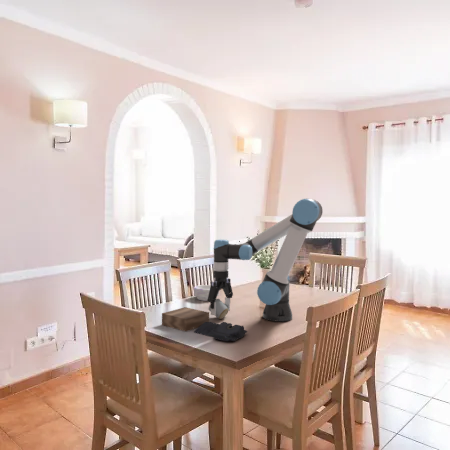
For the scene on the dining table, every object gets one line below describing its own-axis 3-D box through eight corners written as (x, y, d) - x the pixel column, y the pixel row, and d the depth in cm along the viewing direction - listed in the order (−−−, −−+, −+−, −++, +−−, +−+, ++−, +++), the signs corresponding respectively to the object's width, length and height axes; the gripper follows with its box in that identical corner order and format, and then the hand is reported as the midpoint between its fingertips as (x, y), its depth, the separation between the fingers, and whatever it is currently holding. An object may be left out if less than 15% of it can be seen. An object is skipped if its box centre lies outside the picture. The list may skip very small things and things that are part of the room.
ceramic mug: (218, 322, 211) (221, 313, 207) (206, 312, 215) (209, 302, 210) (232, 311, 218) (235, 302, 214) (220, 302, 222) (223, 292, 217)
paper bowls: (223, 300, 254) (224, 287, 254) (204, 304, 244) (204, 290, 244) (207, 296, 266) (207, 283, 265) (188, 299, 256) (188, 286, 255)
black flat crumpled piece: (210, 325, 203) (210, 315, 202) (250, 333, 190) (250, 323, 190) (190, 333, 190) (190, 323, 190) (231, 342, 178) (231, 331, 177)
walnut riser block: (209, 324, 204) (209, 312, 203) (186, 332, 191) (186, 319, 191) (185, 318, 214) (185, 307, 213) (161, 325, 201) (161, 313, 201)
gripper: (228, 266, 226) (228, 307, 227) (200, 272, 206) (200, 316, 208) (240, 268, 221) (239, 309, 222) (212, 273, 202) (212, 318, 203)
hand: (220, 312), depth 215 cm, fingers closed on ceramic mug, 11 cm apart
